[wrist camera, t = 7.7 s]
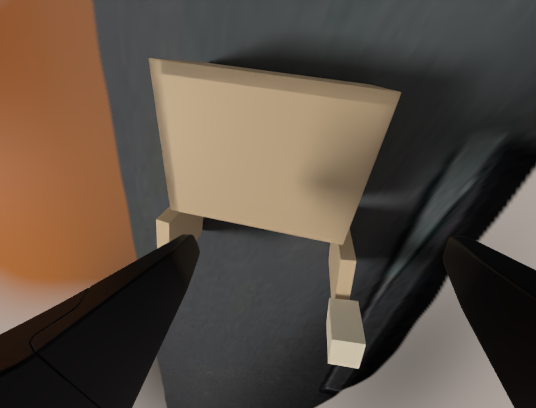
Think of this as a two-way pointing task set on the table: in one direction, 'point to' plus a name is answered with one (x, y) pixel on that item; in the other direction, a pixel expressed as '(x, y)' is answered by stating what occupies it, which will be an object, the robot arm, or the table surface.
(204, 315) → the table surface
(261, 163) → the carton
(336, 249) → the flap open
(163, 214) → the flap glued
